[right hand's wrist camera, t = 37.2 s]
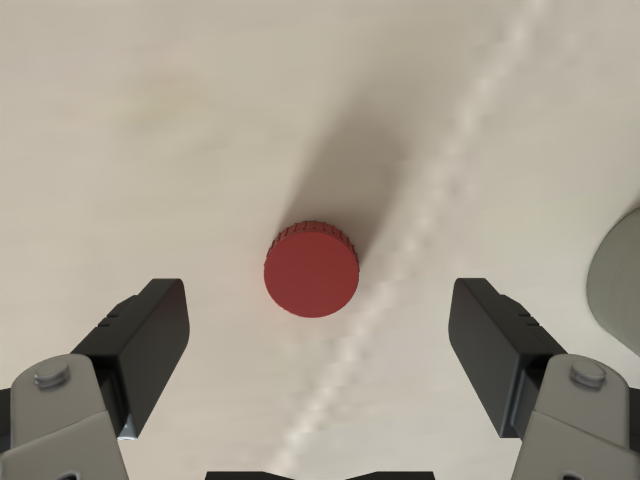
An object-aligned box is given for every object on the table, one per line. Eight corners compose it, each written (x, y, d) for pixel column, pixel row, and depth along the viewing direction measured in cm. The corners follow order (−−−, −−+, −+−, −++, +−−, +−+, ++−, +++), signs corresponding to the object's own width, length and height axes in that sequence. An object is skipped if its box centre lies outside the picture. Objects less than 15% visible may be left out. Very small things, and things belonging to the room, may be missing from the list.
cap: (276, 308, 19) (272, 324, 18) (259, 226, 18) (253, 237, 16) (361, 297, 19) (365, 313, 17) (351, 213, 17) (354, 223, 16)
